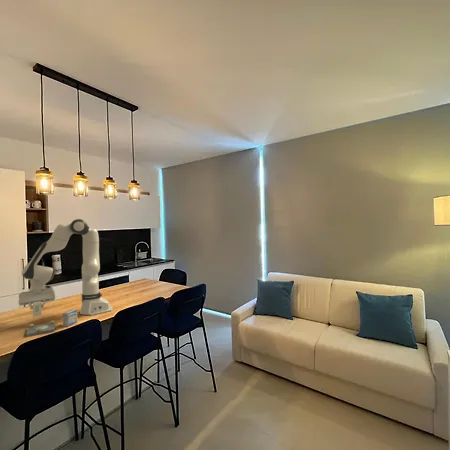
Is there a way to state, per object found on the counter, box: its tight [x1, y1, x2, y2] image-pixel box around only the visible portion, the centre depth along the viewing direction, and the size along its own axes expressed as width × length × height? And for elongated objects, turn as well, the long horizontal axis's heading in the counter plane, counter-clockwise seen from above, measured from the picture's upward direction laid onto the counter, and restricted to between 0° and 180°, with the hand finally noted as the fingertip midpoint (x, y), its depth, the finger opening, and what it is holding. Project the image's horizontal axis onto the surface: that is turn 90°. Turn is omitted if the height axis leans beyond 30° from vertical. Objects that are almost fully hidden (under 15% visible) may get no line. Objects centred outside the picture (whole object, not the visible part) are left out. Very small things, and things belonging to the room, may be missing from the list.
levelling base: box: [25, 319, 56, 338], centre depth 161 cm, size 14×14×3 cm
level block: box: [32, 301, 43, 318], centre depth 172 cm, size 4×5×8 cm
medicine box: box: [62, 309, 78, 328], centre depth 171 cm, size 8×4×9 cm, turn 170°
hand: (37, 307), depth 172 cm, fingers closed on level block, 4 cm apart
